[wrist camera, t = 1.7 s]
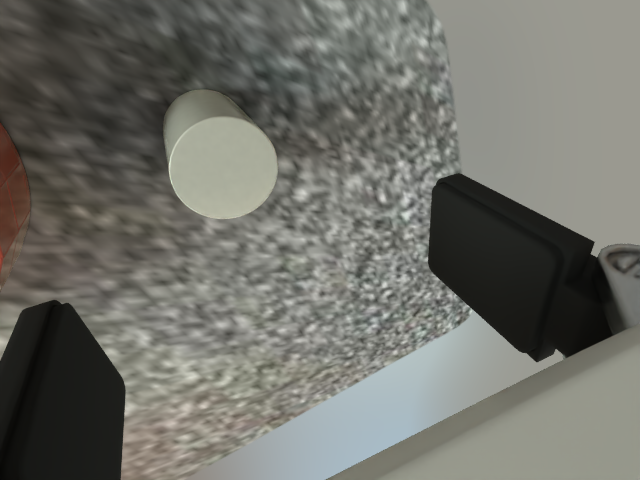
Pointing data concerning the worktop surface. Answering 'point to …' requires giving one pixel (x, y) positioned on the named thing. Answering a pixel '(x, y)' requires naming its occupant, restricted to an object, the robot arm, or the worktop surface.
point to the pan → (11, 205)
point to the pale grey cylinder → (217, 155)
